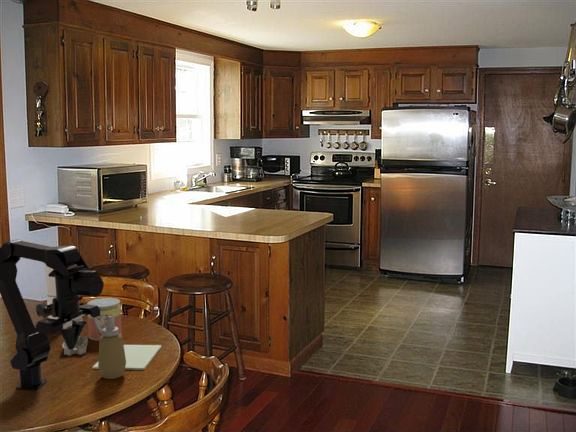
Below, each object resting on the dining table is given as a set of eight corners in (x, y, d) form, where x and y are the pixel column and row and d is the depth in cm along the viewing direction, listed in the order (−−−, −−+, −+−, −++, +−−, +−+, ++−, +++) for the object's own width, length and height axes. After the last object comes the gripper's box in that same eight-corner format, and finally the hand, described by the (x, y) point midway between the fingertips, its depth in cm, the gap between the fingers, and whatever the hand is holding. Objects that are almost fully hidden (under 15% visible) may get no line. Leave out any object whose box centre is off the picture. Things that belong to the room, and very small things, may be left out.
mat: (144, 369, 197) (144, 367, 197) (92, 368, 198) (92, 367, 198) (161, 346, 216) (161, 345, 216) (114, 346, 218) (114, 344, 218)
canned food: (89, 342, 222) (87, 308, 220) (88, 332, 233) (86, 299, 231) (123, 338, 225) (121, 304, 224) (120, 328, 236) (119, 296, 234)
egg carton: (85, 355, 210) (85, 343, 210) (61, 357, 209) (60, 344, 208) (89, 344, 221) (89, 332, 220) (66, 345, 220) (65, 333, 219)
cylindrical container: (48, 331, 234) (43, 263, 230) (49, 325, 241) (45, 259, 237) (69, 329, 236) (65, 261, 232) (70, 323, 243) (66, 257, 239)
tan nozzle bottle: (96, 373, 194) (93, 315, 192) (124, 368, 198) (121, 311, 195) (101, 383, 187) (97, 322, 184) (129, 378, 190) (126, 318, 188)
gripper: (69, 282, 187) (73, 335, 189) (17, 299, 170) (22, 356, 172) (100, 286, 182) (103, 339, 185) (49, 303, 166) (54, 362, 168)
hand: (71, 349), depth 177 cm, fingers closed
